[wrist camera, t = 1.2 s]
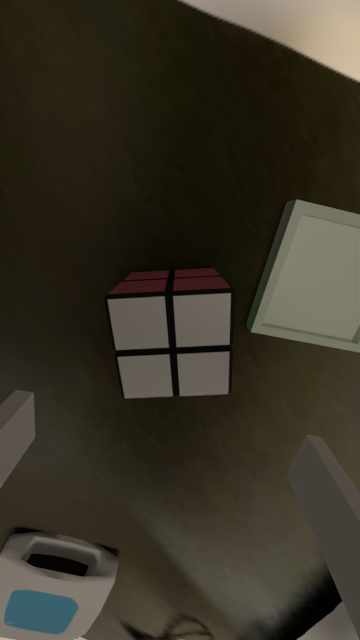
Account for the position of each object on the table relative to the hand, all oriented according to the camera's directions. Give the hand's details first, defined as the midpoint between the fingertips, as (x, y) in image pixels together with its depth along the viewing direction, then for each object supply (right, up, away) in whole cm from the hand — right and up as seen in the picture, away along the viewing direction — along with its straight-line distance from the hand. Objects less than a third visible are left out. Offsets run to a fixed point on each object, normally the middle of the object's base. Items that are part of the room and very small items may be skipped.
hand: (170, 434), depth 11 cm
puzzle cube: (0, +7, +17) cm, 19 cm away
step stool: (-27, -49, +40) cm, 68 cm away
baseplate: (+17, +10, +16) cm, 25 cm away
